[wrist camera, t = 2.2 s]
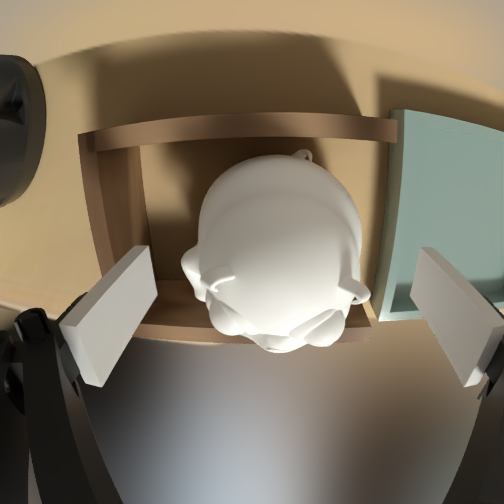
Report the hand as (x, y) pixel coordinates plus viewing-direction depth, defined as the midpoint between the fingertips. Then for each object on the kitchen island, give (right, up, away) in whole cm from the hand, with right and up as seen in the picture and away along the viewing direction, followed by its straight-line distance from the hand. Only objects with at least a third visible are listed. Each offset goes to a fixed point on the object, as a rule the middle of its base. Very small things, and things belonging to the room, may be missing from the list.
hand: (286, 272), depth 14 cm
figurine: (0, +4, +8) cm, 9 cm away
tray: (+16, +4, +7) cm, 18 cm away
